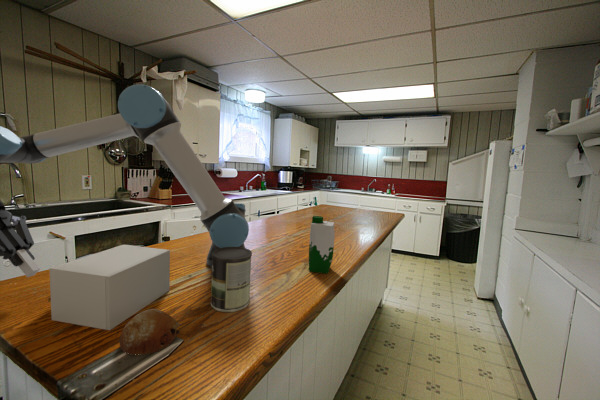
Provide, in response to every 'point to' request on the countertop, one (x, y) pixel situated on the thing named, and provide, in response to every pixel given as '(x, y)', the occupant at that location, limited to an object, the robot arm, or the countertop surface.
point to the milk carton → (321, 245)
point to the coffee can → (230, 278)
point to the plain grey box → (108, 285)
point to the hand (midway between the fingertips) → (33, 273)
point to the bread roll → (148, 332)
